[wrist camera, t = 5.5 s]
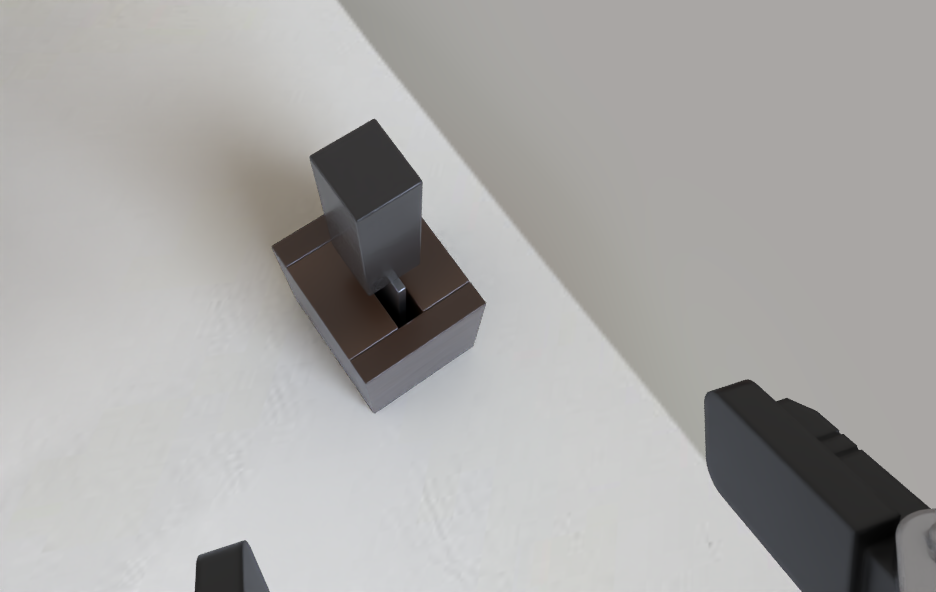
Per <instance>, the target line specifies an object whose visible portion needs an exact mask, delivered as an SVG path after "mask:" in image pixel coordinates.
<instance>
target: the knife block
mask: <svg viewBox="0 0 936 592" xmlns="http://www.w3.org/2000/svg"><path fill="white" fill-rule="evenodd" d="M272 249H273V252H274V254H275V256H276V258H277V260H278V262H279V264H280V266H281V269H282V271H283V273H284V275H285V277H286V279H287V281H288V283H289V286H290V288H291V290H292V292H293V294H294V296H295V298H296V300H297V301H298V303H299V304H300V306H301V307H302V309H303V310H304V312H305V313H306V315H308V317H309V319H310V320H311V322H312V323H313V325H314V326H315V328H316V329H317V331H318V332H319V334H320V335H321V337H322V338H323V339H324V341H325V342H326V344H327V345H328V347H329V348H330V350H331V351H332V353H333V354H334V356H335V357H336V359H337V360H338V361H339V363H340V364H341V366H342V367H343V369H344V370H345V372H346V373H347V375H348V376H349V378H350V379H351V381H352V382H353V383H354V385H355V386H356V388H357V389H358V391H359V392H360V393H361V395H362V397H363V398H364V400H365V401H366V403H367V404H368V405H369V407H370V408H371V410H372V411H373V413H376V412H378V411H379V410H381V409H382V408H384V407H385V406H386V405H388V404H389V403H391V402H392V401H394V400H395V399H397V398H398V397H400V396H401V395H402V394H404V393H405V392H407V391H408V390H410V389H411V388H413V387H414V386H416V385H417V384H419V383H420V382H421V381H423V380H424V379H426V378H427V377H429V376H430V375H432V374H433V373H435V372H436V371H438V370H439V369H440V368H442V367H443V366H445V365H446V364H448V363H449V362H451V361H452V360H454V359H455V358H456V357H458V356H459V355H461V354H462V353H464V352H465V351H467V350H468V349H470V348H471V347H473V345H474V342H475V339H476V336H477V332H478V329H479V326H480V322H481V319H482V316H483V312H484V309H485V306H486V302H485V301H484V300H483V298H482V297H481V296H480V294H479V293H478V292H477V290H476V289H475V288H474V286H473V285H472V284H471V283H470V282H469V280H468V278H467V277H466V276H465V274H464V273H463V272H462V270H461V269H460V268H459V266H458V265H457V264H456V262H455V261H454V260H453V258H452V257H451V256H450V254H449V253H448V252H447V250H446V249H445V248H444V246H443V245H442V244H441V242H440V241H439V240H438V238H437V237H436V236H435V234H434V233H433V231H432V230H431V229H430V227H429V226H428V225H427V223H426V222H425V221H424V219H423V218H422V217H421V250H420V264H419V265H418V266H416V267H414V268H413V269H411V270H410V271H408V272H407V273H405V274H404V275H402V276H400V277H399V279H400V280H401V282H402V283H403V284H404V286H405V287H406V324H405V325H403V326H402V327H400V328H399V329H398V327H397V325H396V324H395V322H394V321H393V320H392V318H391V317H390V315H389V314H388V312H387V311H386V310H385V308H384V307H383V305H382V304H381V303H380V301H379V300H378V298H377V297H376V296H375V294H372V295H371V296H369V295H367V293H366V292H365V290H364V289H363V288H362V286H361V285H360V283H359V282H358V280H357V279H356V278H355V276H354V275H353V273H352V272H351V271H350V269H349V268H348V266H347V265H346V264H345V262H344V261H343V259H342V258H341V256H340V255H339V254H338V252H337V251H336V249H335V248H334V247H333V245H332V242H331V238H330V234H329V230H328V227H327V223H326V219H325V215H322V216H320V217H319V218H317V219H316V220H314V221H312V222H311V223H309V224H307V225H306V226H304V227H302V228H301V229H299V230H297V231H296V232H294V233H292V234H291V235H289V236H287V237H286V238H284V239H282V240H281V241H279V242H277V243H276V244H274V245H273V246H272Z"/></svg>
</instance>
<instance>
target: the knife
mask: <svg viewBox="0 0 936 592" xmlns="http://www.w3.org/2000/svg"><path fill="white" fill-rule="evenodd" d="M309 158H310V162H311V166H312V169H313V173H314V177H315V181H316V185H317V189H318V192H319V196H320V200H321V204H322V208H323V211H324V215H325V219H326V223H327V227H328V230H329V234H330V238H331V242H332V245H333V247H334V248H335V249H336V251H337V252H338V254H339V255H340V256H341V258H342V259H343V261H344V262H345V264H346V265H347V266H348V268H349V269H350V271H351V272H352V273H353V275H354V276H355V278H356V279H357V280H358V282H359V283H360V285H361V286H362V288H363V289H364V290H365V292H366V293H367V295H369V296H371V295H372V294H375V296H376V297H377V298H378V300H379V301H380V303H381V304H382V305H383V307H384V308H385V310H386V311H387V312H388V314H389V315H390V317H391V318H392V320H393V321H394V322H395V324H396V325H397V327H398V329H399V328H400V327H402V326H403V325H405V324H406V287H405V286H404V284H403V283H402V282H401V280H400V279H399V277H400V276H402V275H404V274H405V273H407V272H408V271H410V270H411V269H413V268H414V267H416V266H418V265H419V264H420V250H421V216H422V180H421V179H420V177H419V176H418V175H417V173H416V172H415V171H414V169H413V168H412V167H411V165H410V164H409V163H408V161H407V160H406V159H405V157H404V156H403V155H402V154H401V152H400V151H399V150H398V148H397V147H396V146H395V144H394V143H393V142H392V140H391V139H390V138H389V136H388V135H387V134H386V132H385V131H384V130H383V128H382V127H381V126H380V124H379V123H378V122H377V120H375V119H372V120H371V121H369V122H367V123H366V124H364V125H362V126H360V127H359V128H357V129H355V130H354V131H352V132H350V133H348V134H347V135H345V136H343V137H341V138H340V139H338V140H336V141H335V142H333V143H331V144H329V145H328V146H326V147H324V148H322V149H321V150H319V151H317V152H316V153H314V154H312V155H311V156H310V157H309Z"/></svg>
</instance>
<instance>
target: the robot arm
mask: <svg viewBox="0 0 936 592" xmlns="http://www.w3.org/2000/svg"><path fill="white" fill-rule="evenodd" d="M704 404H705V405H704V409H705V440H706V441H705V443H706V462H707V467H708V471H709V474H710V476H711V479H712V481H713V483H714V485H715V487H716V489H717V490H718V492H719V493H720V494H721V496H722V497H723V498H724V499H725V500H726V502H727V503H728V504H729V505H730V506H731V508H732V509H733V510H734V511H735V512H736V514H737V515H738V516H739V517H740V518H741V520H742V521H743V522H744V523H745V524H746V526H747V527H748V528H749V529H750V530H751V531H752V533H753V534H754V535H755V536H756V537H757V539H758V540H759V541H760V542H761V543H762V545H763V546H764V547H765V548H766V549H767V551H768V552H769V553H770V554H771V555H772V557H773V558H774V559H775V560H776V561H777V563H778V564H779V565H780V566H781V567H782V569H783V570H784V571H785V572H786V573H787V575H788V576H789V577H790V578H791V579H792V581H793V582H794V583H795V584H796V585H797V586H798V588H799V589H800V590H801V591H802V592H936V509H931V508H929V507H928V506H927V505H926V504H924V503H923V502H922V501H921V500H920V499H919V498H917V497H916V496H915V495H914V494H913V493H912V492H910V491H909V490H908V489H907V488H906V487H905V486H903V485H902V484H901V483H900V482H899V481H898V480H896V479H895V478H894V477H893V476H892V475H890V474H889V473H888V472H887V471H886V470H885V469H883V468H882V467H881V466H880V465H879V464H878V463H877V462H876V461H874V460H873V459H872V458H871V457H870V456H869V455H867V454H866V453H865V452H864V451H863V450H858V448H857V445H856V444H854V443H853V442H852V441H851V440H850V439H849V438H847V437H846V436H845V435H844V434H840V433H839V430H838V429H837V428H836V427H835V426H833V425H832V424H831V423H830V422H829V421H828V420H827V419H825V418H824V417H823V416H822V415H821V414H820V413H818V412H817V411H815V410H813V409H811V408H808V407H806V406H804V405H802V404H799V403H797V402H795V401H793V400H790V399H788V398H785V399H782V400H779V401H775V400H774V399H773V398H772V397H770V396H769V395H768V394H767V393H766V392H765V391H764V390H763V389H762V388H760V387H759V386H758V385H757V384H756V383H755V382H753V381H751V380H743V381H741V382H737V383H734V384H731V385H728V386H725V387H722V388H719V389H716V390H712V391H710V392H708V393H707V394H706V396H705V400H704ZM195 592H270V591H269V589H268V587H267V584H266V582H265V580H264V577H263V575H262V573H261V570H260V568H259V566H258V563H257V561H256V559H255V557H254V554H253V552H252V550H251V547H250V545H249V544H248V542H247V541H246V540H244V541H241V542H238V543H235V544H232V545H229V546H225V547H222V548H219V549H216V550H213V551H210V552H207V553H204V554H201V555H199V556H198V558H197V562H196V580H195Z"/></svg>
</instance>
